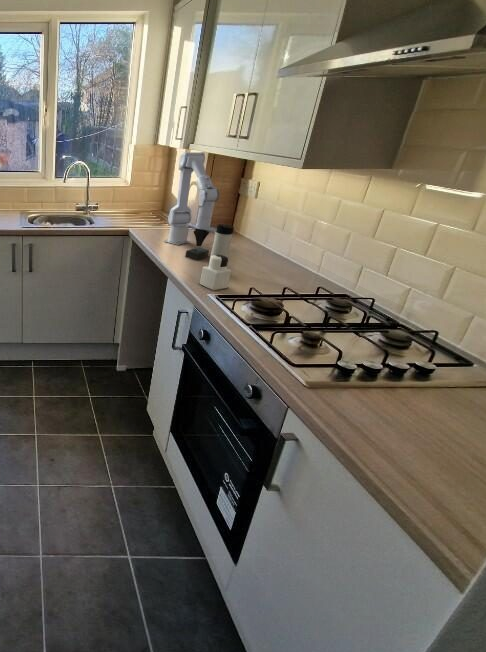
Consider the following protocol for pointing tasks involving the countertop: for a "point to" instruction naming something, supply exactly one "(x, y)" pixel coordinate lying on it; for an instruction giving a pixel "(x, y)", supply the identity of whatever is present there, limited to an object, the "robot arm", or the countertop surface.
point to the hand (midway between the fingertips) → (198, 245)
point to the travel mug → (222, 240)
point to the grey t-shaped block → (203, 250)
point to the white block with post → (216, 273)
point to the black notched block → (195, 254)
